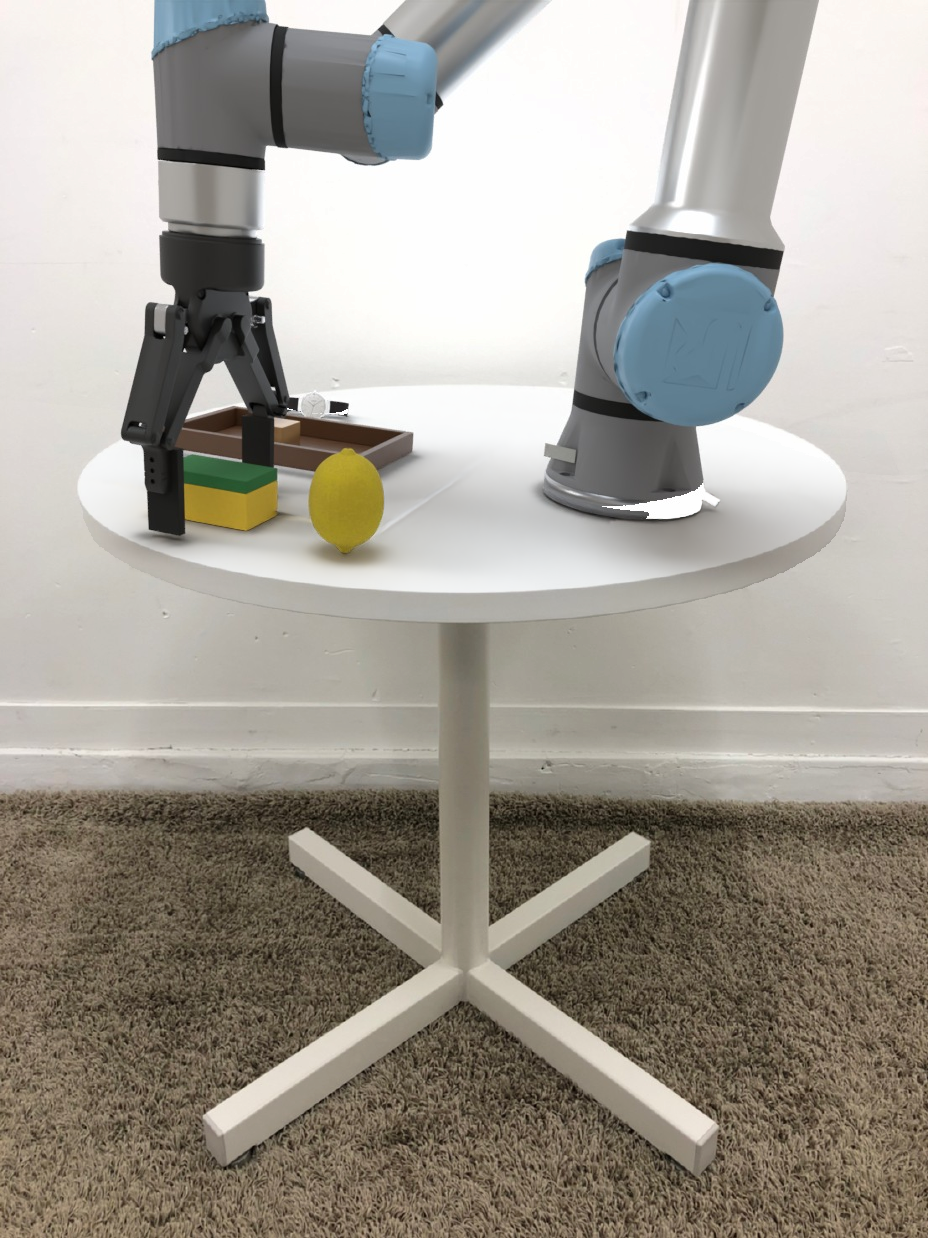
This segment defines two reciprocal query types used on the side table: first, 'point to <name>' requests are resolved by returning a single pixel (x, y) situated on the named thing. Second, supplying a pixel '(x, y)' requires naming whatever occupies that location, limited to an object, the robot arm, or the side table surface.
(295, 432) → the tan wooden block
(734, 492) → the side table surface
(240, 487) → the sponge
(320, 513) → the lemon
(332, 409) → the watch
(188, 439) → the tray
